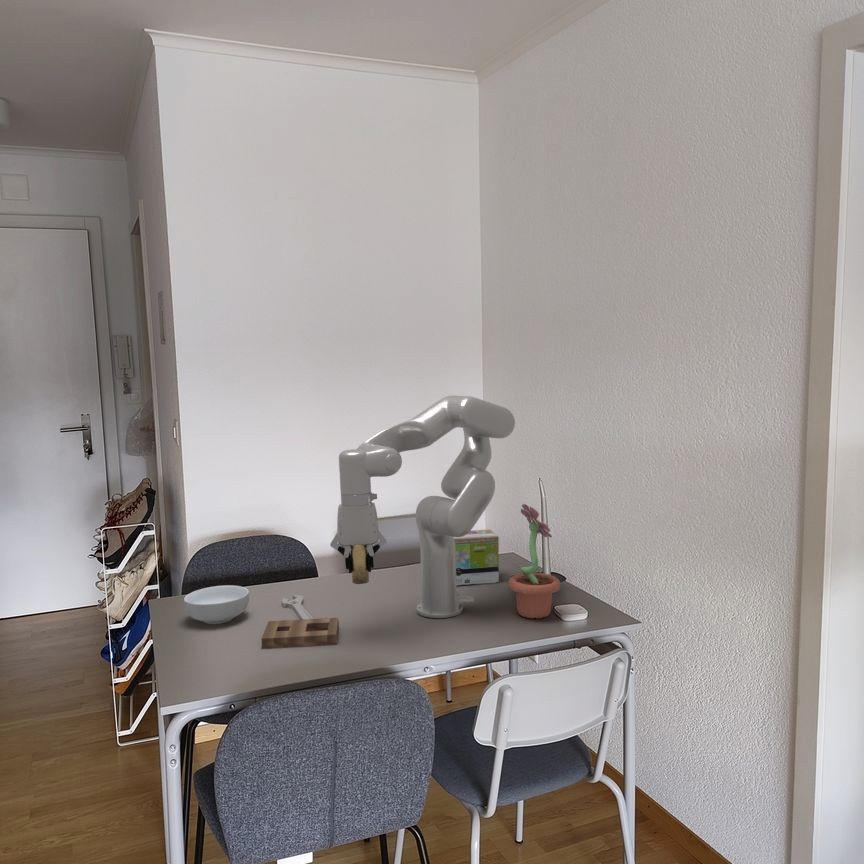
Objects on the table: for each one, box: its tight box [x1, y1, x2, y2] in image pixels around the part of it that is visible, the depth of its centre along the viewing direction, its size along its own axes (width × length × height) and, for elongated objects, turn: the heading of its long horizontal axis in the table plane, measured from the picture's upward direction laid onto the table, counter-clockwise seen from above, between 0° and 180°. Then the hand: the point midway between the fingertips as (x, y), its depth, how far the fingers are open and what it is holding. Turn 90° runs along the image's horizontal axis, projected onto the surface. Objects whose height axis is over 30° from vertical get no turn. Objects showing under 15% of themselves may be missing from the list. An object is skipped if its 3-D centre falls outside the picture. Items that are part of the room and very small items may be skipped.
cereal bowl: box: [183, 584, 250, 625], centre depth 210 cm, size 17×17×7 cm
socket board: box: [261, 617, 340, 649], centre depth 195 cm, size 18×12×2 cm, turn 94°
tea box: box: [453, 529, 500, 586], centre depth 237 cm, size 15×10×15 cm
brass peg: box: [350, 544, 370, 585], centre depth 194 cm, size 4×4×10 cm
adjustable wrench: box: [281, 594, 314, 620], centre depth 213 cm, size 25×6×2 cm, turn 19°
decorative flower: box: [507, 503, 562, 619], centre depth 205 cm, size 15×14×30 cm
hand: (360, 570), depth 195 cm, fingers closed on brass peg, 4 cm apart
